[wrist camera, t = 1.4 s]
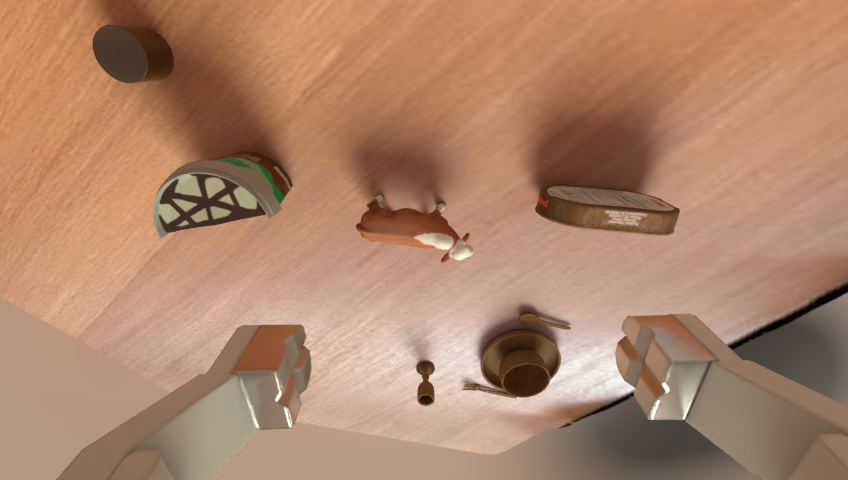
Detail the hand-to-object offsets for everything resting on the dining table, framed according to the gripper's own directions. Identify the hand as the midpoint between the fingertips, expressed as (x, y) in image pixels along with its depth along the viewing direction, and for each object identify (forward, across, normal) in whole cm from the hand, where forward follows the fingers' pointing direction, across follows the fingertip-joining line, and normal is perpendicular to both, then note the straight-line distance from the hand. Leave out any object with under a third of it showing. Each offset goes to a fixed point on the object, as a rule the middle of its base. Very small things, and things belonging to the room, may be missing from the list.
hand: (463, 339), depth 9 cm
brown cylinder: (+35, +29, -7) cm, 46 cm away
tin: (+35, -19, +9) cm, 41 cm away
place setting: (+35, -9, +34) cm, 50 cm away
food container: (+35, +22, +5) cm, 42 cm away
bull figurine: (+35, +2, +11) cm, 37 cm away
